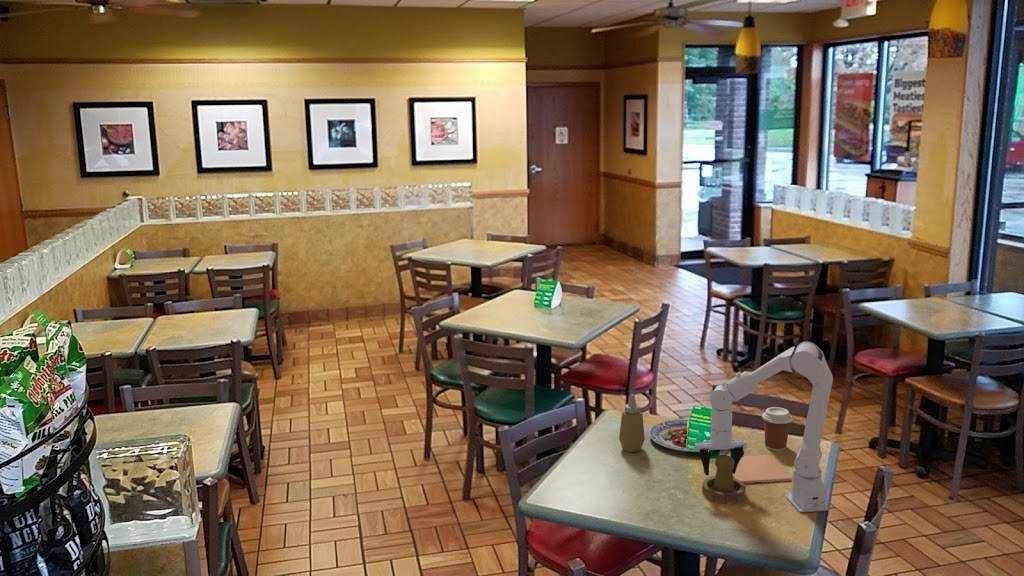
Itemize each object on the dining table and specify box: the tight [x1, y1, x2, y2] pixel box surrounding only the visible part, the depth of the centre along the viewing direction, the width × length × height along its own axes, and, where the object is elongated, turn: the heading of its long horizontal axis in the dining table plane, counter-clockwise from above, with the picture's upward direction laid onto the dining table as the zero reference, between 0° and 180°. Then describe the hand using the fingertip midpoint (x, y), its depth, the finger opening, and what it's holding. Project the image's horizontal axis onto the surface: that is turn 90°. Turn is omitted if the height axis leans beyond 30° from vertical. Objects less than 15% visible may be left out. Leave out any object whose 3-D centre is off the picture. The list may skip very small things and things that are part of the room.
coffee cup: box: [761, 406, 793, 452], centre depth 257 cm, size 9×9×12 cm
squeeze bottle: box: [618, 393, 645, 453], centre depth 257 cm, size 8×8×18 cm
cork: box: [712, 454, 735, 493], centre depth 228 cm, size 6×6×11 cm
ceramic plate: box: [648, 418, 697, 453], centre depth 265 cm, size 26×26×3 cm
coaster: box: [733, 454, 793, 485], centre depth 243 cm, size 16×16×1 cm
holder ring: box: [701, 475, 747, 504], centre depth 229 cm, size 11×11×2 cm
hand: (719, 473), depth 232 cm, fingers open, 7 cm apart
